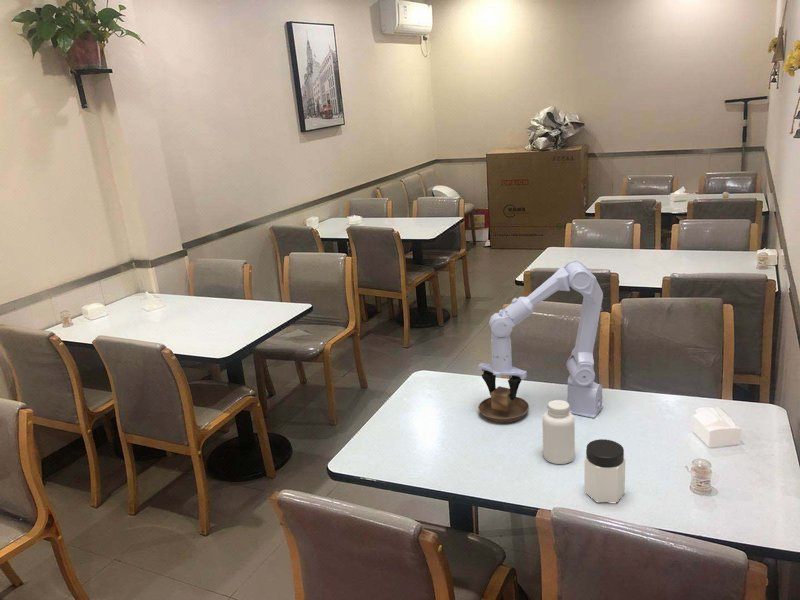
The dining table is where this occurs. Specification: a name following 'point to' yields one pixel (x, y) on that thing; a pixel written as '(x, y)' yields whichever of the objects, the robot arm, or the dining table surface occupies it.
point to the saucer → (503, 416)
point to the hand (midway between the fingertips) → (503, 396)
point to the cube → (501, 399)
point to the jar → (604, 471)
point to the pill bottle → (558, 433)
